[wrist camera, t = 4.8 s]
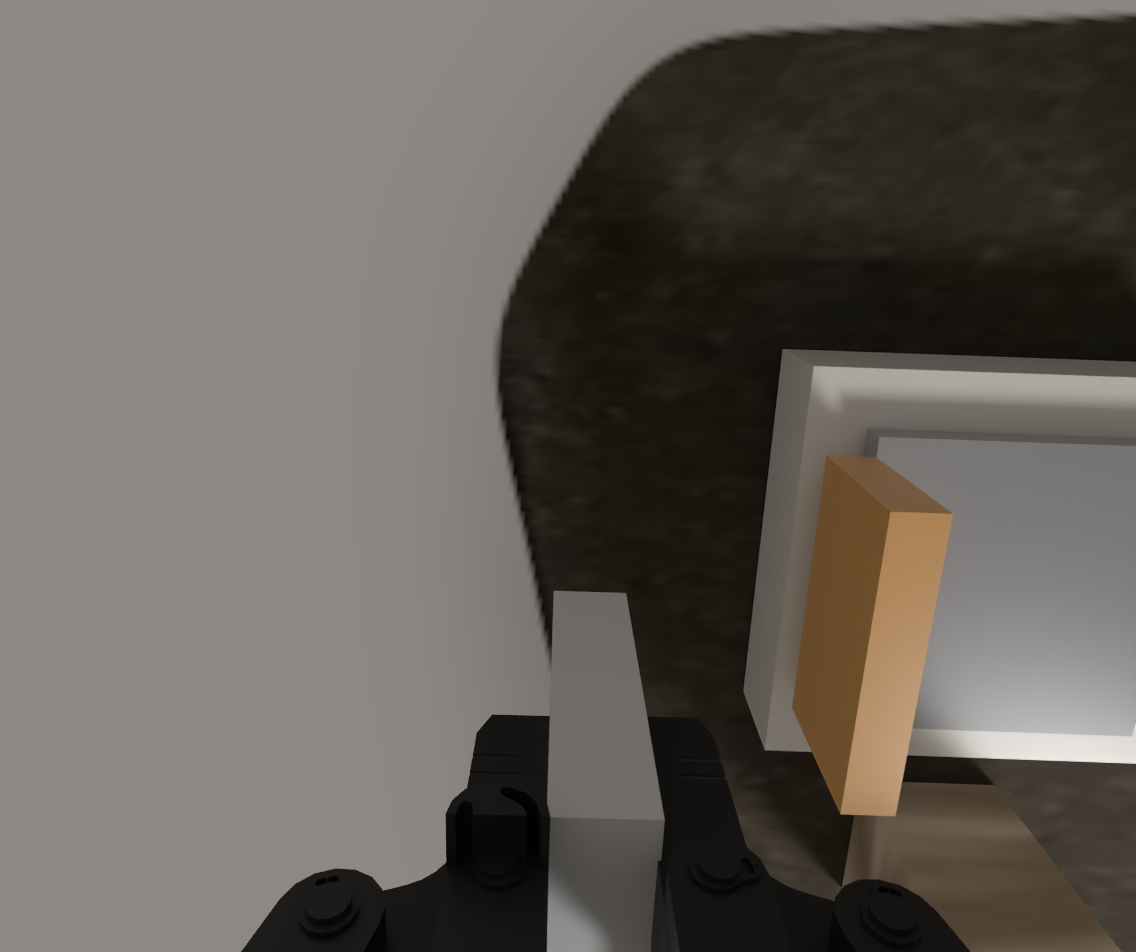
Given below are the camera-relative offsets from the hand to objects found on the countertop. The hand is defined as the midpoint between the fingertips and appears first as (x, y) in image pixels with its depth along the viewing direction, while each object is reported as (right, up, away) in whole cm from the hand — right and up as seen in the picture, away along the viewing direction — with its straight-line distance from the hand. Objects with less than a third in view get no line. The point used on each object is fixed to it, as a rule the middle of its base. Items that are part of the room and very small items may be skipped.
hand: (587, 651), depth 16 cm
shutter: (+10, +1, +4) cm, 11 cm away
